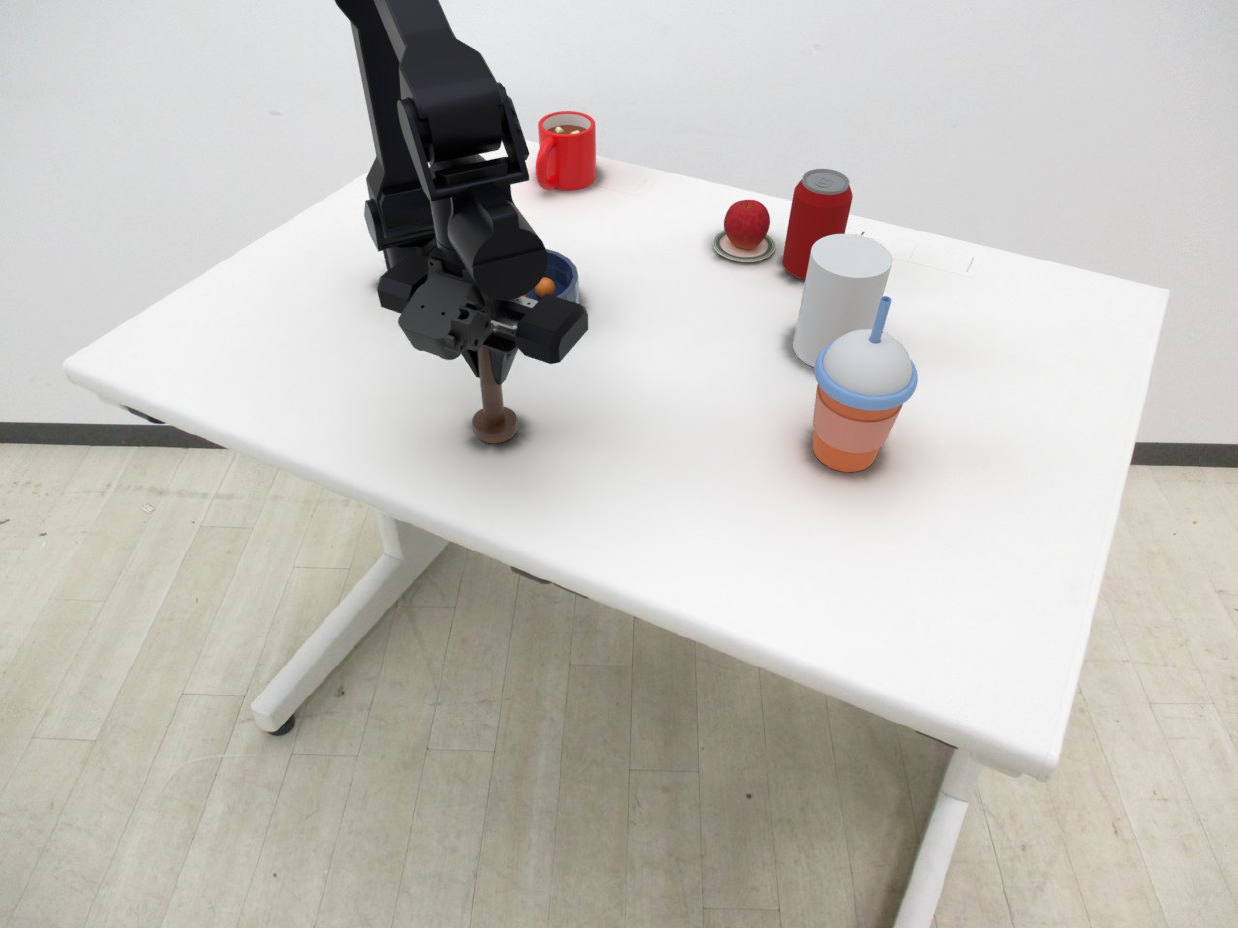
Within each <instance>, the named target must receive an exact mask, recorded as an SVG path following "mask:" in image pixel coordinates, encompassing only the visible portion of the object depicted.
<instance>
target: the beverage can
mask: <svg viewBox="0 0 1238 928" xmlns="http://www.w3.org/2000/svg"><path fill="white" fill-rule="evenodd" d="M850 184H851V183H850V179H849V177H848V176H847V175H845V174H844V173H842V172H840V171H838V170H834V169H831V168H830V169H829V168H814V169H811V170H808V171H806V172H805V173H804V174H803V175H802V178H801V180H800V181H798V183H797V184H796V185H795V187H794V190H793V195H792V201H791V204H790V205H791V206H790V212H789V218H788V222H787V228H786V236H785V241H784V247H783V254H782V266H783V268H784V269H785V270H786V271H787V272H788V273H789V274H790V275H792V276H794V277H796V278H798V279H800V280H803V281H805V280H806V275H807V269H808V264H809V259H810V254H811V249H812V246H813V245H814V243H815V242H816V241H818V240H819V239H821V238H823V237H826V236H829V235H834V234H846V230H847V226H848V221H849V216H850V211H851V207H852V202H853V191H852V189H851V185H850Z"/></svg>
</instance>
